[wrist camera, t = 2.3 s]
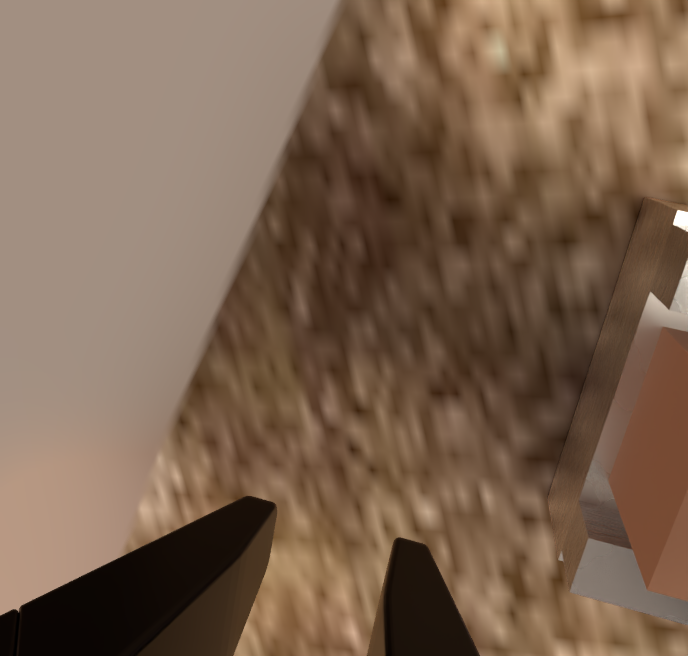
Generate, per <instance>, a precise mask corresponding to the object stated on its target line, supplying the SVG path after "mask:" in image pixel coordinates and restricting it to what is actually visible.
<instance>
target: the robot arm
mask: <svg viewBox="0 0 688 656" xmlns="http://www.w3.org/2000/svg"><path fill="white" fill-rule="evenodd" d="M276 516H277V507H276V504H275V503H273V502H270V501H267V500H263V499H260V498H256V497H252V496H245V497H243V498H241V499H239V500H237V501H235V502H233V503H230V504H228V505H226V506H224V507H222V508H220V509H218V510H216V511H214V512H212V513H210V514H208V515H206V516H204V517H202V518H200V519H198V520H196V521H194V522H192V523H190V524H187V525H185V526H183V527H181V528H179V529H177V530H175V531H173V532H171V533H169V534H167V535H165V536H163V537H161V538H159V539H157V540H155V541H153V542H151V543H149V544H146V545H144V546H142V547H140V548H138V549H136V550H134V551H132V552H130V553H128V554H126V555H124V556H122V557H120V558H118V559H116V560H114V561H112V562H110V563H108V564H106V565H103V566H101V567H99V568H97V569H95V570H93V571H91V572H89V573H87V574H85V575H83V576H81V577H79V578H77V579H75V580H73V581H71V582H69V583H67V584H65V585H63V586H60V587H58V588H56V589H54V590H52V591H50V592H48V593H46V594H44V595H42V596H40V597H38V598H36V599H34V600H32V601H30V602H28V603H26V604H24V605H22V606H21V607H20V608H19V613H18V611H17V610H16V609H13V610H11V611H9V612H7V613H5V614H3V615H0V656H233V655H234V652H235V650H236V647H237V644H238V642H239V639H240V637H241V634H242V632H243V629H244V626H245V624H246V621H247V619H248V616H249V613H250V611H251V608H252V606H253V603H254V601H255V598H256V595H257V593H258V590H259V588H260V585H261V582H262V580H263V577H264V575H265V572H266V569H267V565H268V562H269V557H270V552H271V546H272V540H273V534H274V528H275V522H276ZM367 656H480V655H479V653H478V650H477V648H476V646H475V644H474V642H473V640H472V638H471V636H470V634H469V632H468V630H467V628H466V625H465V623H464V621H463V619H462V617H461V615H460V613H459V611H458V609H457V607H456V605H455V603H454V600H453V598H452V596H451V594H450V592H449V590H448V588H447V586H446V584H445V582H444V580H443V577H442V575H441V573H440V571H439V569H438V567H437V565H436V563H435V561H434V559H433V557H432V555H431V552H430V550H429V548H428V547H427V546H426V545H425V544H423V543H419V542H415V541H412V540H408V539H404V538H400V537H398V538H396V539H395V540H394V542H393V546H392V550H391V554H390V558H389V562H388V567H387V571H386V575H385V579H384V583H383V587H382V592H381V596H380V600H379V605H378V609H377V613H376V618H375V622H374V627H373V631H372V636H371V640H370V644H369V649H368V653H367Z"/></svg>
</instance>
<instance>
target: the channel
mask: <svg viewBox="0 0 688 656" xmlns="http://www.w3.org/2000/svg"><path fill="white" fill-rule="evenodd" d="M663 327H668V328H673V329H677V330H682V331H686V332H688V205H685V204H680V203H675V202H669V201H664V200H659V199H654V198H649V197H644V200H643V204H642V207H641V210H640V213H639V216H638V219H637V222H636V225H635V228H634V231H633V234H632V238H631V241H630V244H629V247H628V250H627V253H626V256H625V259H624V262H623V265H622V268H621V272H620V275H619V278H618V281H617V284H616V287H615V290H614V293H613V296H612V299H611V303H610V306H609V309H608V312H607V315H606V318H605V321H604V324H603V327H602V330H601V333H600V337H599V340H598V343H597V346H596V349H595V352H594V355H593V358H592V361H591V364H590V368H589V371H588V374H587V377H586V380H585V383H584V386H583V389H582V392H581V395H580V398H579V402H578V405H577V408H576V411H575V414H574V417H573V420H572V423H571V426H570V429H569V433H568V436H567V439H566V442H565V445H564V448H563V451H562V454H561V457H560V460H559V463H558V467H557V470H556V473H555V476H554V479H553V482H552V485H551V488H550V491H549V494H548V497H547V499H548V504H549V510H550V516H551V521H552V527H553V533H554V539H555V544H556V550H557V556H558V560H560V561H564V566H565V571H566V577H567V582H568V587H569V592H571V593H574V594H578V595H581V596H585V597H588V598H592V599H596V600H599V601H603V602H606V603H610V604H613V605H617V606H621V607H624V608H628V609H631V610H635V611H639V612H642V613H646V614H649V615H653V616H656V617H660V618H664V619H667V620H671V621H674V622H678V623H681V624H685V625H688V601H684V600H681V599H677V598H673V597H670V596H666V595H662V594H659V593H655V592H652V591H648V590H647V589H646V586H645V583H644V580H643V577H642V575H641V572H640V569H639V566H638V563H637V561H636V558H635V555H634V552H633V549H632V547H631V544H630V541H629V538H628V535H627V533H626V530H625V527H624V524H623V521H622V518H621V516H620V513H619V510H618V507H617V504H616V502H615V499H614V496H613V493H612V490H611V488H610V485H609V482H608V480H609V477H610V474H611V471H612V469H613V466H614V463H615V460H616V457H617V454H618V452H619V449H620V446H621V443H622V440H623V438H624V435H625V432H626V429H627V426H628V423H629V421H630V418H631V415H632V412H633V409H634V407H635V404H636V401H637V398H638V395H639V392H640V390H641V387H642V384H643V381H644V378H645V376H646V373H647V370H648V367H649V364H650V361H651V359H652V356H653V353H654V350H655V347H656V344H657V342H658V339H659V336H660V333H661V330H662V328H663Z"/></svg>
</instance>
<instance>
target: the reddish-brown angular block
mask: <svg viewBox="0 0 688 656" xmlns="http://www.w3.org/2000/svg"><path fill="white" fill-rule="evenodd" d="M608 482H609V485H610V488H611V490H612V493H613V496H614V499H615V502H616V504H617V507H618V510H619V513H620V516H621V518H622V521H623V524H624V527H625V530H626V533H627V535H628V538H629V541H630V544H631V547H632V549H633V552H634V555H635V558H636V561H637V563H638V566H639V569H640V572H641V575H642V577H643V580H644V583H645V586H646V589H647V590H648V591H652V592H655V593H659V594H662V595H666V596H670V597H673V598H677V599H681V600H684V601H688V332H686V331H682V330H677V329H673V328H668V327H663V328H662V330H661V333H660V336H659V339H658V342H657V344H656V347H655V350H654V353H653V356H652V359H651V361H650V364H649V367H648V370H647V373H646V376H645V378H644V381H643V384H642V387H641V390H640V392H639V395H638V398H637V401H636V404H635V407H634V409H633V412H632V415H631V418H630V421H629V423H628V426H627V429H626V432H625V435H624V438H623V440H622V443H621V446H620V449H619V452H618V454H617V457H616V460H615V463H614V466H613V469H612V471H611V474H610V477H609V480H608Z"/></svg>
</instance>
